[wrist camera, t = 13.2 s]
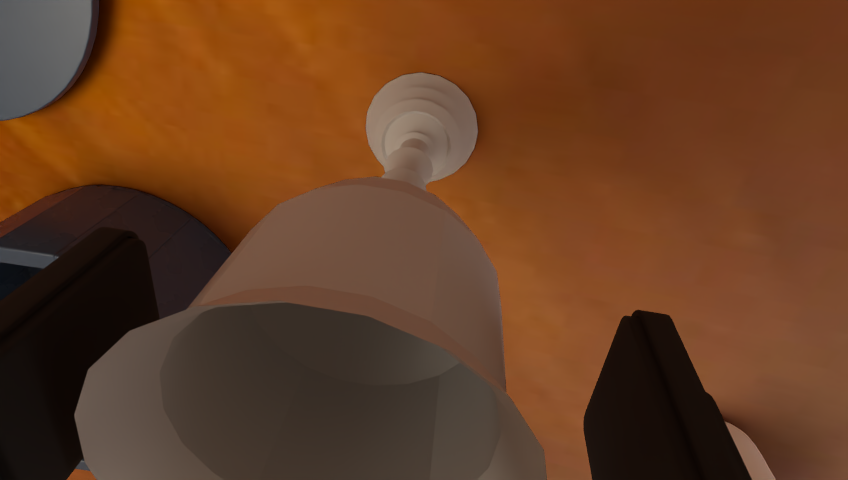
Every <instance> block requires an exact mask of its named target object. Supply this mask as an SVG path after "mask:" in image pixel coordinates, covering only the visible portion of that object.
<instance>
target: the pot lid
mask: <svg viewBox="0 0 848 480" xmlns="http://www.w3.org/2000/svg"><path fill="white" fill-rule="evenodd" d="M98 18H99V0H0V121H3V120H10V119H14V118H19V117H23V116H26V115H29V114H31V113H34V112H36V111H39V110H41V109H43V108H46V107H47V106H49V105H50V104H52V103H53V102H55V101H56V100H58V99H59V98H61V97H62V96H63V95H64V94H65V93H66V92H67V91H68V90H69V89H70V88H71V87H72V86H73V84H74V83H75V82H76V80H77V79H78V77H79V76H80V75H81V73H82V72H83V69H84V67H85V65H86V63H87V61H88V59H89V57H90V55H91V51H92V48H93V44H94V41H95V37H96V32H97V25H98Z"/></svg>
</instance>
